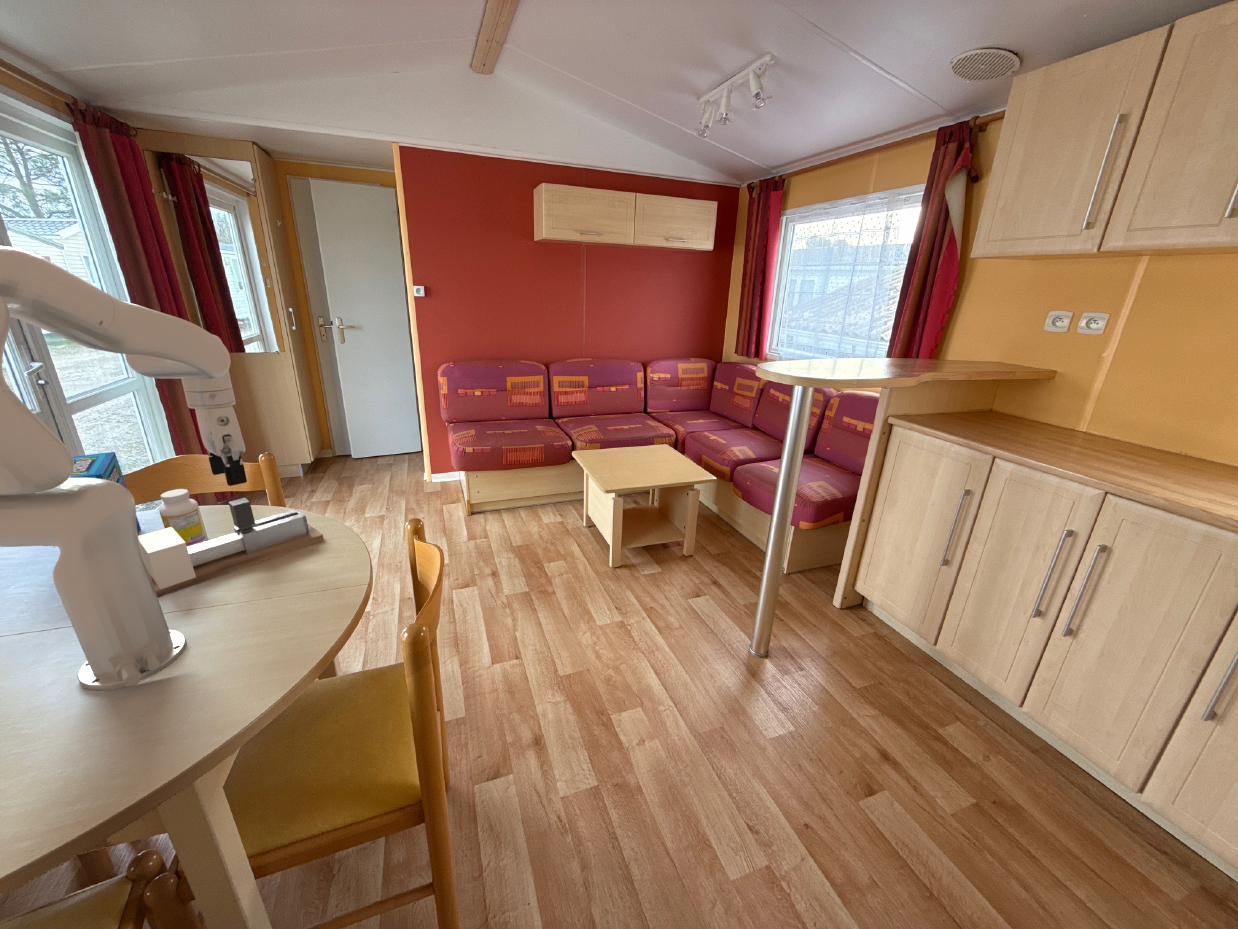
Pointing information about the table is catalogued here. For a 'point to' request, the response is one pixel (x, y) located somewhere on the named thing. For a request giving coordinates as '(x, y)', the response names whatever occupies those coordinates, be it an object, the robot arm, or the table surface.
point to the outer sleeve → (274, 531)
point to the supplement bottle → (183, 516)
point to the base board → (239, 562)
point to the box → (100, 470)
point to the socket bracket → (166, 557)
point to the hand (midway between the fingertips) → (229, 478)
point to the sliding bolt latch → (225, 543)
